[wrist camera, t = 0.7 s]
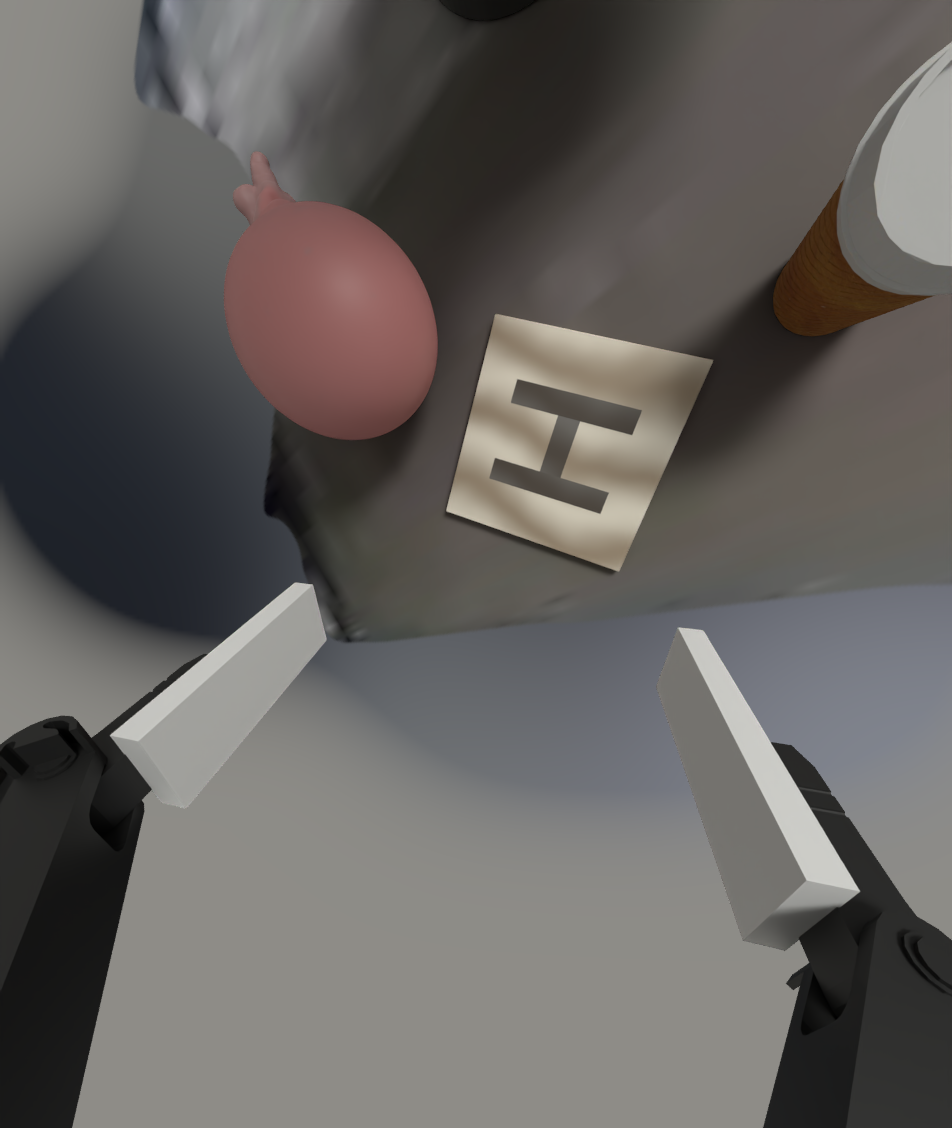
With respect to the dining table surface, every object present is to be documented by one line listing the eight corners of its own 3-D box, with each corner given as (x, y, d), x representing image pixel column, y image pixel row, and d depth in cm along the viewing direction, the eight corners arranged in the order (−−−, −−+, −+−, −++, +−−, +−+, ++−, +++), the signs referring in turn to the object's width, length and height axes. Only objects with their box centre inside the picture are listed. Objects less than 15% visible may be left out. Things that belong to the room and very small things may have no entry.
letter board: (497, 317, 31) (495, 313, 31) (710, 363, 27) (713, 360, 27) (448, 510, 37) (446, 510, 36) (618, 569, 33) (618, 571, 33)
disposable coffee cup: (715, 313, 27) (802, 202, 16) (836, 168, 23) (1061, -109, 12) (819, 389, 26) (988, 328, 15) (961, 252, 22) (1325, 38, 11)
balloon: (416, 182, 31) (265, -66, 16) (484, 412, 34) (406, 370, 20) (290, 274, 36) (97, 149, 22) (358, 465, 39) (227, 462, 25)
